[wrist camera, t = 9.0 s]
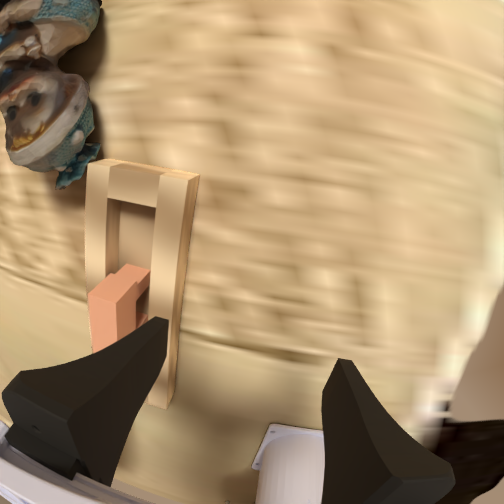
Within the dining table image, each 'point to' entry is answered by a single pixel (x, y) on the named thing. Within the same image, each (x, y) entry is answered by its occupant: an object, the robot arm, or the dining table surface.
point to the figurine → (46, 85)
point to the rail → (142, 242)
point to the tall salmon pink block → (117, 305)
